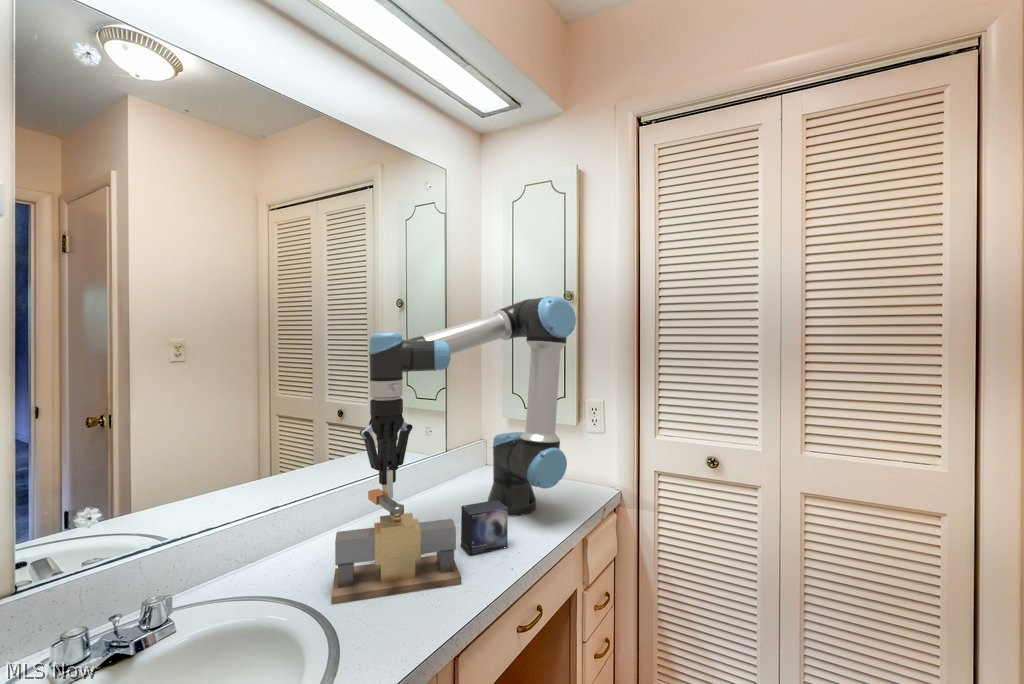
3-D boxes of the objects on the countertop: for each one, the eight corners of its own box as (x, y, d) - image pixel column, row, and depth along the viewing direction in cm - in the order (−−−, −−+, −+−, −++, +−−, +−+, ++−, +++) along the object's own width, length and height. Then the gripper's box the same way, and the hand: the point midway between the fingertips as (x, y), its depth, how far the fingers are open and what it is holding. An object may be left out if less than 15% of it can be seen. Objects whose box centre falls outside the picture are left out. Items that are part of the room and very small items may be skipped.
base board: (451, 559, 113) (451, 552, 113) (461, 584, 101) (461, 577, 101) (335, 575, 105) (335, 568, 105) (331, 604, 94) (331, 596, 94)
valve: (451, 557, 110) (451, 503, 110) (456, 571, 104) (456, 514, 104) (337, 573, 103) (336, 515, 103) (335, 589, 96) (334, 528, 96)
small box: (469, 557, 114) (469, 513, 114) (459, 546, 120) (459, 505, 120) (508, 548, 119) (508, 506, 119) (497, 538, 125) (497, 498, 125)
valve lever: (406, 514, 103) (406, 505, 103) (393, 518, 101) (393, 508, 101) (379, 496, 115) (379, 488, 115) (367, 499, 113) (367, 490, 113)
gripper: (368, 402, 105) (370, 508, 105) (418, 396, 114) (419, 494, 114) (353, 399, 110) (354, 499, 111) (402, 394, 119) (403, 487, 120)
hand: (387, 497), depth 112 cm, fingers closed
